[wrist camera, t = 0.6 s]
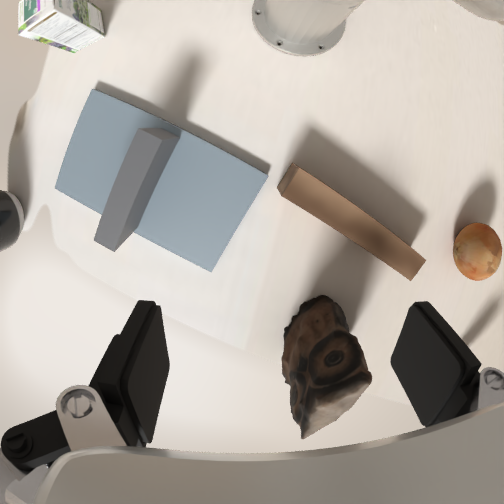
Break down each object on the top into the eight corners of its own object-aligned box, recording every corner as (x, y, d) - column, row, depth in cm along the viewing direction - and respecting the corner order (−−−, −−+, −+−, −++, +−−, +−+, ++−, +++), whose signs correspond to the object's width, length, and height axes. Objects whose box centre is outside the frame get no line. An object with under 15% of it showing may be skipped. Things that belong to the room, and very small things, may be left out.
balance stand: (95, 89, 32) (58, 83, 23) (267, 174, 39) (275, 189, 30) (58, 186, 38) (20, 203, 29) (212, 268, 44) (204, 305, 35)
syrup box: (70, 26, 27) (15, 3, 14) (102, 8, 27) (53, -25, 14) (74, 54, 30) (15, 37, 16) (107, 36, 29) (54, 8, 16)
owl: (279, 355, 52) (293, 449, 33) (268, 299, 46) (282, 399, 28) (346, 341, 51) (381, 428, 32) (345, 284, 46) (394, 372, 27)
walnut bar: (292, 162, 38) (299, 167, 33) (409, 246, 44) (426, 260, 39) (276, 187, 40) (281, 195, 35) (395, 265, 45) (410, 281, 40)
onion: (477, 258, 45) (508, 281, 36) (441, 270, 46) (471, 298, 36) (481, 211, 41) (516, 230, 32) (443, 221, 42) (479, 243, 33)
